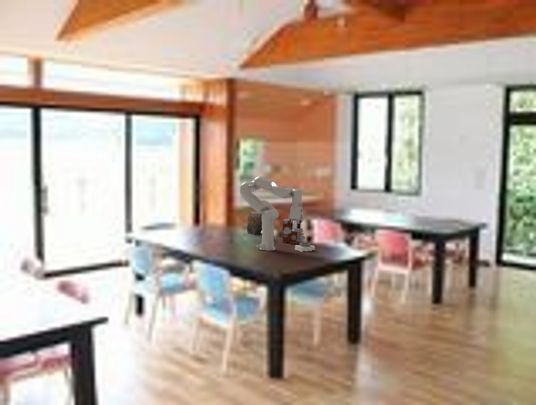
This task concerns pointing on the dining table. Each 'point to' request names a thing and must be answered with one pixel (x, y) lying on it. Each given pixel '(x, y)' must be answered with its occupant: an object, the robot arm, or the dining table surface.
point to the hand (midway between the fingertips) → (295, 228)
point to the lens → (295, 225)
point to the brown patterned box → (290, 233)
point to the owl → (254, 223)
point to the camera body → (304, 247)
